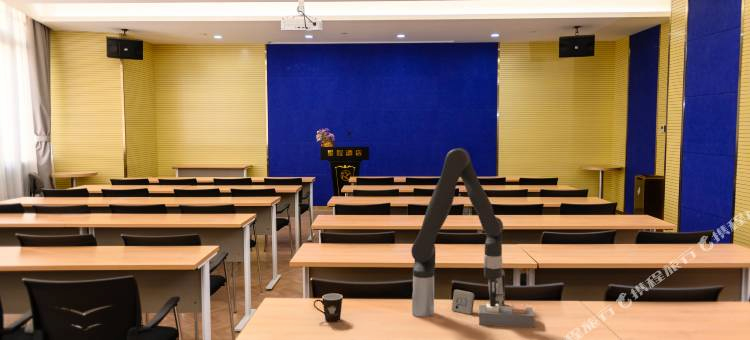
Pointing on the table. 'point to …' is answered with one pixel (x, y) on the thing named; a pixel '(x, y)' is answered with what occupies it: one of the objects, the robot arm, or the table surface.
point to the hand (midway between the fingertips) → (492, 305)
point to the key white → (492, 308)
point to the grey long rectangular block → (506, 317)
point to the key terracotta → (519, 309)
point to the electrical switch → (463, 301)
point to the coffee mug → (331, 307)
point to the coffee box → (500, 290)
